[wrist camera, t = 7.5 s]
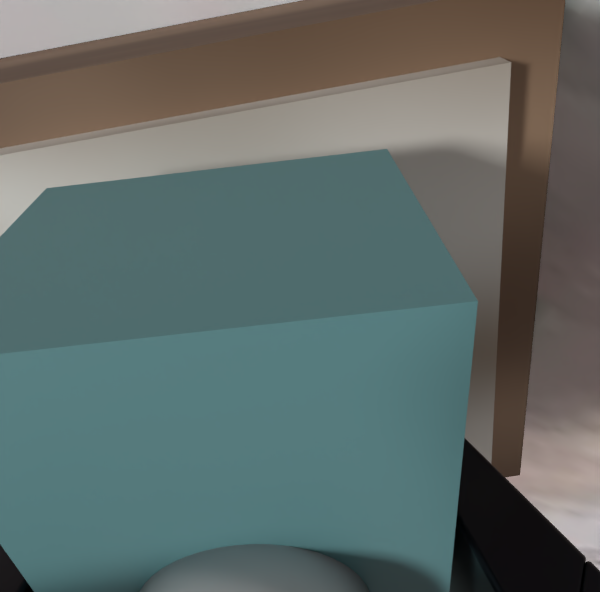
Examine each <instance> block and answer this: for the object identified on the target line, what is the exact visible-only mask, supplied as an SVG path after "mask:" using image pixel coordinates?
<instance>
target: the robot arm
mask: <svg viewBox="0 0 600 592" xmlns="http://www.w3.org/2000/svg"><path fill="white" fill-rule="evenodd" d="M585 561H586V558H585V556H584V555H583V554H582V553H581V552H580V551H579V550H578V549H577V548H576V547H575V546H574V545H573V544H572V543H571V542H570V541H569V540H568V539H567V538H566V537H565V536H564V535H563V534H562V533H561V532H560V531H559V530H558V529H557V528H556V527H555V526H554V525H553V524H552V523H551V522H550V521H549V520H547V519H546V518H545V517H544V516H543V515H542V514H541V513H540V512H539V511H538V510H537V509H536V508H535V507H534V506H533V505H532V504H531V503H530V502H529V501H528V500H527V499H526V498H525V497H524V496H523V495H522V494H521V493H520V492H519V491H518V490H517V489H516V488H515V487H514V486H513V485H512V484H511V483H510V482H509V481H508V480H507V479H506V478H505V477H504V476H503V475H502V474H501V473H500V472H499V471H498V470H497V469H496V468H495V467H494V466H493V465H492V464H491V463H490V462H489V461H488V460H487V459H486V458H485V457H484V456H483V455H482V454H481V453H480V452H479V451H478V450H477V449H476V448H475V447H474V446H473V445H472V444H471V443H470V442H468V441H467V440H466V439H465V438H464V448H463V458H462V468H461V478H460V488H459V498H458V509H457V519H456V529H455V539H454V549H453V559H452V569H451V580H450V590H449V592H600V571H599V570H598V569H597V568H596V567H595V566H594V565H593V564H592V563H591V562H589V561H587V562H586V563H585ZM0 592H34V591H33V590H32V588H31V587H30V585H29V584H28V583H27V581H26V580H25V578H24V577H23V575H22V574H21V573H20V571H19V570H18V568H17V567H16V566H15V564H14V563H13V561H12V560H11V559H10V557H9V556H8V554H7V553H6V552H5V550H4V549H3V547H2V546H1V544H0Z"/></svg>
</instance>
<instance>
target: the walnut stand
mask: <svg viewBox="0 0 600 592" xmlns="http://www.w3.org/2000/svg"><path fill="white" fill-rule="evenodd" d="M564 8H565V0H303V1H298V2H292V3H287V4H282V5H277V6H271V7H266V8H261V9H256V10H251V11H245V12H240V13H235V14H230V15H225V16H219V17H214V18H209V19H204V20H199V21H193V22H188V23H183V24H178V25H173V26H167V27H162V28H157V29H152V30H147V31H141V32H136V33H131V34H126V35H121V36H115V37H110V38H105V39H100V40H95V41H89V42H84V43H79V44H74V45H69V46H63V47H58V48H53V49H48V50H42V51H37V52H32V53H27V54H22V55H16V56H11V57H6V58H1V59H0V236H1V235H2V234H3V233H4V232H5V231H6V230H7V229H8V228H9V227H10V226H11V225H12V224H13V223H14V222H15V221H16V219H17V218H18V217H19V216H20V215H21V214H22V213H23V212H24V211H25V210H26V209H27V208H28V207H29V206H30V205H31V204H32V203H33V202H34V201H35V200H36V199H37V198H38V196H39V195H40V194H41V193H42V192H43V191H44V190H45V189H46V188H52V187H61V186H69V185H78V184H87V183H95V182H104V181H113V180H121V179H130V178H139V177H147V176H156V175H165V174H173V173H182V172H191V171H199V170H208V169H217V168H225V167H234V166H243V165H251V164H260V163H269V162H277V161H286V160H295V159H303V158H312V157H321V156H329V155H338V154H347V153H355V152H364V151H373V150H381V149H388V151H389V153H390V155H391V156H392V158H393V160H394V161H395V163H396V165H397V166H398V168H399V170H400V171H401V173H402V175H403V176H404V178H405V180H406V181H407V183H408V185H409V186H410V188H411V190H412V191H413V193H414V195H415V196H416V198H417V200H418V201H419V203H420V205H421V206H422V208H423V210H424V211H425V213H426V215H427V216H428V218H429V220H430V222H431V223H432V225H433V227H434V228H435V230H436V232H437V233H438V235H439V237H440V238H441V240H442V242H443V243H444V245H445V247H446V248H447V250H448V252H449V253H450V255H451V257H452V258H453V260H454V262H455V263H456V265H457V267H458V268H459V270H460V272H461V273H462V275H463V277H464V278H465V280H466V282H467V284H468V285H469V287H470V289H471V290H472V292H473V294H474V295H475V297H476V299H477V300H478V306H477V316H476V326H475V336H474V347H473V357H472V367H471V377H470V387H469V397H468V407H467V417H466V428H465V439H466V440H467V441H468V442H470V443H471V444H472V445H473V446H474V447H475V448H476V449H477V450H478V451H479V452H480V453H481V454H482V455H483V456H484V457H485V458H486V459H487V460H488V461H489V462H490V463H491V464H492V465H493V466H494V467H495V468H496V469H497V470H498V471H499V472H500V473H501V474H502V475H503V476H504V477H509V476H517V475H520V468H521V457H522V447H523V436H524V426H525V415H526V405H527V394H528V384H529V374H530V363H531V353H532V342H533V332H534V321H535V311H536V300H537V290H538V280H539V269H540V259H541V248H542V238H543V227H544V217H545V206H546V196H547V186H548V175H549V165H550V154H551V144H552V133H553V123H554V112H555V102H556V92H557V81H558V71H559V60H560V50H561V39H562V29H563V18H564Z"/></svg>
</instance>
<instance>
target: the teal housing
mask: <svg viewBox="0 0 600 592" xmlns="http://www.w3.org/2000/svg"><path fill="white" fill-rule="evenodd" d="M477 306H478V300H477V299H476V297H475V295H474V294H473V292H472V290H471V289H470V287H469V285H468V284H467V282H466V280H465V278H464V277H463V275H462V273H461V272H460V270H459V268H458V267H457V265H456V263H455V262H454V260H453V258H452V257H451V255H450V253H449V252H448V250H447V248H446V247H445V245H444V243H443V242H442V240H441V238H440V237H439V235H438V233H437V232H436V230H435V228H434V227H433V225H432V223H431V222H430V220H429V218H428V216H427V215H426V213H425V211H424V210H423V208H422V206H421V205H420V203H419V201H418V200H417V198H416V196H415V195H414V193H413V191H412V190H411V188H410V186H409V185H408V183H407V181H406V180H405V178H404V176H403V175H402V173H401V171H400V170H399V168H398V166H397V165H396V163H395V161H394V160H393V158H392V156H391V155H390V153H389V151H388V149H381V150H373V151H364V152H355V153H347V154H338V155H329V156H321V157H312V158H303V159H295V160H286V161H277V162H269V163H260V164H251V165H243V166H234V167H225V168H217V169H208V170H199V171H191V172H182V173H173V174H165V175H156V176H147V177H139V178H130V179H121V180H113V181H104V182H95V183H87V184H78V185H69V186H61V187H52V188H46V189H45V190H44V191H43V192H42V193H41V194H40V195H39V196H38V198H37V199H36V200H35V201H34V202H33V203H32V204H31V205H30V206H29V207H28V208H27V209H26V210H25V211H24V212H23V213H22V214H21V215H20V216H19V217H18V218H17V219H16V221H15V222H14V223H13V224H12V225H11V226H10V227H9V228H8V229H7V230H6V231H5V232H4V233H3V234H2V235H1V236H0V544H1V546H2V547H3V549H4V550H5V552H6V553H7V554H8V556H9V557H10V559H11V560H12V561H13V563H14V564H15V566H16V567H17V568H18V570H19V571H20V573H21V574H22V575H23V577H24V578H25V580H26V581H27V583H28V584H29V585H30V587H31V588H32V590H33V591H34V592H449V590H450V580H451V569H452V559H453V549H454V539H455V529H456V519H457V509H458V498H459V488H460V478H461V468H462V458H463V448H464V438H465V428H466V417H467V407H468V397H469V387H470V377H471V367H472V357H473V347H474V336H475V326H476V316H477Z"/></svg>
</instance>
